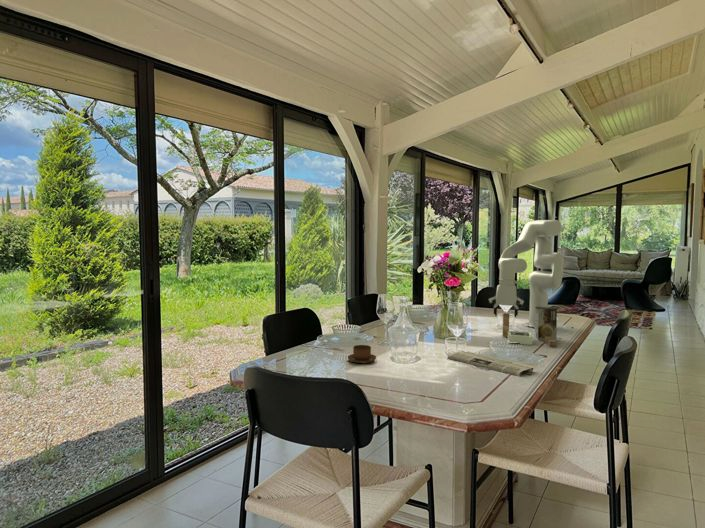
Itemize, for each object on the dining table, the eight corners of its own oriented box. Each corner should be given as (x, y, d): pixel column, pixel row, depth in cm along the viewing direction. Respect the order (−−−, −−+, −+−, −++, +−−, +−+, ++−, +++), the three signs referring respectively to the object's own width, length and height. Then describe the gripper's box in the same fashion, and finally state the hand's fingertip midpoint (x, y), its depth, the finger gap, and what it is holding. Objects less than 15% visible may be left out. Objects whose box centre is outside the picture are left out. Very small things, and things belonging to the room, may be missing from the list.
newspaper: (447, 359, 215) (447, 351, 215) (465, 354, 223) (465, 346, 223) (522, 378, 188) (522, 369, 188) (539, 372, 197) (539, 363, 196)
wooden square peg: (502, 335, 260) (503, 312, 259) (508, 335, 259) (509, 312, 259) (502, 336, 257) (503, 313, 256) (508, 337, 257) (509, 313, 256)
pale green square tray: (507, 338, 253) (507, 330, 252) (529, 339, 250) (530, 332, 250) (508, 343, 242) (509, 335, 242) (531, 344, 240) (532, 336, 240)
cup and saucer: (343, 359, 214) (343, 345, 213) (368, 356, 218) (369, 342, 218) (354, 366, 203) (354, 351, 202) (381, 363, 207) (381, 348, 207)
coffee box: (552, 338, 255) (553, 306, 253) (556, 340, 248) (557, 308, 247) (534, 337, 256) (535, 306, 254) (537, 340, 249) (538, 308, 248)
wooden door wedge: (544, 342, 247) (544, 336, 247) (550, 342, 247) (551, 336, 246) (549, 347, 235) (550, 341, 235) (556, 348, 235) (556, 341, 235)
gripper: (524, 283, 258) (522, 316, 259) (489, 281, 262) (487, 314, 263) (525, 284, 250) (523, 318, 251) (489, 282, 255) (488, 316, 256)
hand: (505, 316), depth 257 cm, fingers open, 9 cm apart
